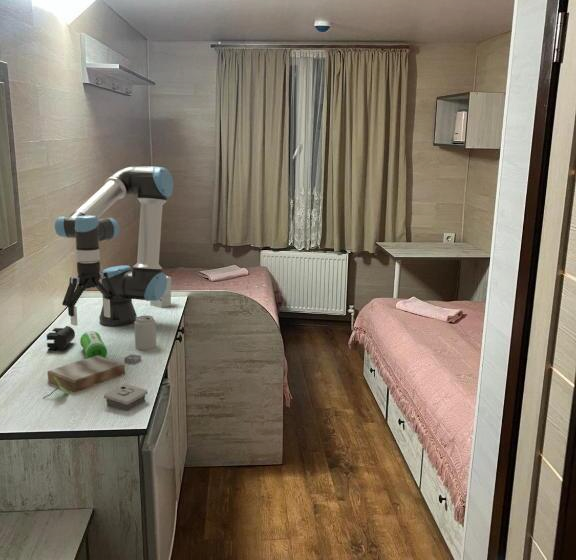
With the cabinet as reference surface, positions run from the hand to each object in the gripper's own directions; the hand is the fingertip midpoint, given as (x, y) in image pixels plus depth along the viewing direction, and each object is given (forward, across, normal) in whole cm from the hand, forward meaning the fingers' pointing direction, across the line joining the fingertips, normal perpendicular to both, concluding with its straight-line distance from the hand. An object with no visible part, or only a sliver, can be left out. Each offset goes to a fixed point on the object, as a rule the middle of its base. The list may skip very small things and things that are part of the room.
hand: (91, 320), depth 218 cm
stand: (+13, +14, +16) cm, 25 cm away
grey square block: (+13, -5, +16) cm, 21 cm away
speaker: (+14, -1, 0) cm, 14 cm away
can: (+13, -18, +8) cm, 23 cm away
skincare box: (+12, -58, -30) cm, 67 cm away
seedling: (+14, +31, +20) cm, 40 cm away
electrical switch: (+14, +20, +38) cm, 45 cm away
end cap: (+13, +1, -17) cm, 22 cm away
